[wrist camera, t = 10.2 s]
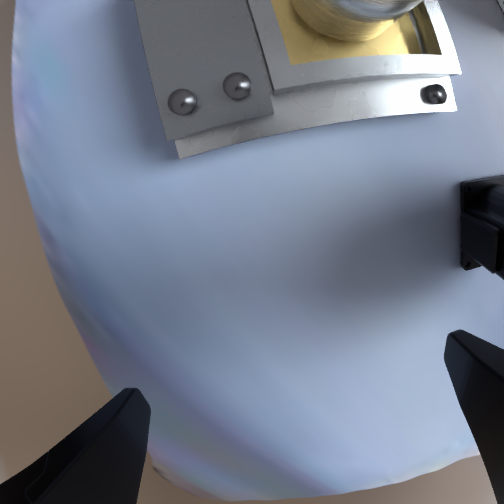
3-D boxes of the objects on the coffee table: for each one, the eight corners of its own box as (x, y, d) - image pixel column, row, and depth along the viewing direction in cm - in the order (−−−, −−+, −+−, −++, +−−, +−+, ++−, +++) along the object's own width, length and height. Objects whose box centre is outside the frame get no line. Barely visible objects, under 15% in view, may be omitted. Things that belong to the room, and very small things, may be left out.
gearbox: (376, -64, 10) (396, -95, 6) (440, 111, 15) (482, 110, 11) (144, -28, 12) (116, -58, 8) (188, 156, 17) (163, 164, 13)
